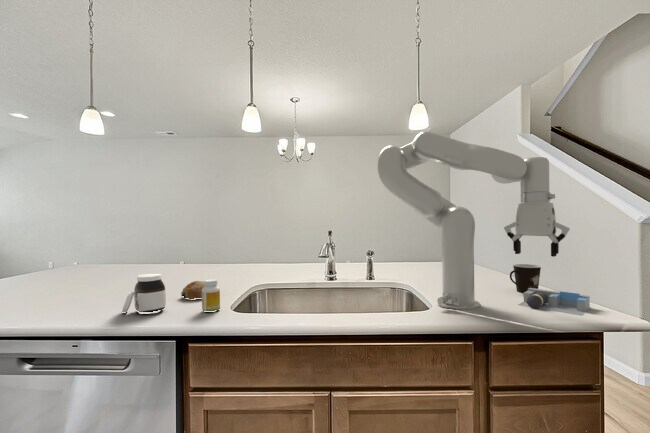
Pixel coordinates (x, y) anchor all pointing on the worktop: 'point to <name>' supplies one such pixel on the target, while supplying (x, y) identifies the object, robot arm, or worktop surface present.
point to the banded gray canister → (537, 300)
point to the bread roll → (193, 290)
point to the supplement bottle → (210, 295)
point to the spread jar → (147, 294)
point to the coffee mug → (526, 276)
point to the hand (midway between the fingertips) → (535, 254)
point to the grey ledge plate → (561, 301)
